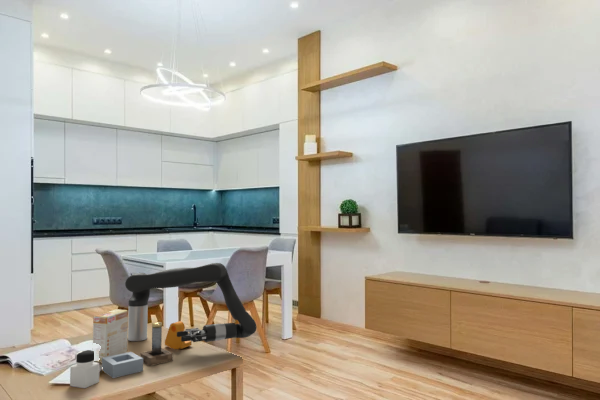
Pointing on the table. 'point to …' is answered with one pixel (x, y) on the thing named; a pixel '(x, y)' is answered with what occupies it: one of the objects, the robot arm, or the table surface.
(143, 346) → the table surface
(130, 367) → the block
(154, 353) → the silver metal cylinder
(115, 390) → the table surface
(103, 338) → the coffeecake box
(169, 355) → the socket block
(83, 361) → the medicine bottle
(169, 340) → the bracket
